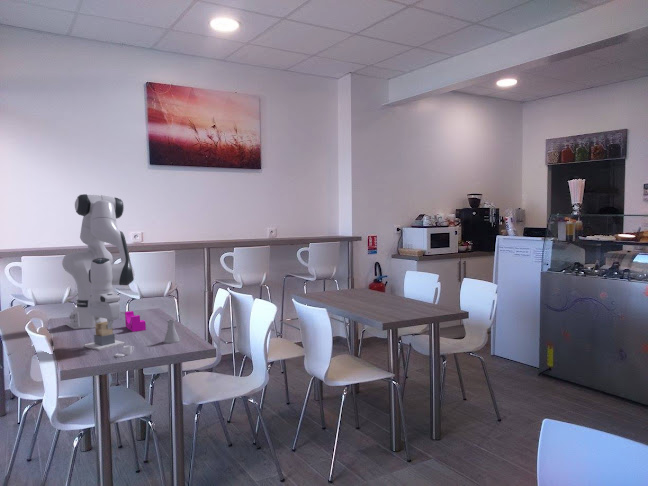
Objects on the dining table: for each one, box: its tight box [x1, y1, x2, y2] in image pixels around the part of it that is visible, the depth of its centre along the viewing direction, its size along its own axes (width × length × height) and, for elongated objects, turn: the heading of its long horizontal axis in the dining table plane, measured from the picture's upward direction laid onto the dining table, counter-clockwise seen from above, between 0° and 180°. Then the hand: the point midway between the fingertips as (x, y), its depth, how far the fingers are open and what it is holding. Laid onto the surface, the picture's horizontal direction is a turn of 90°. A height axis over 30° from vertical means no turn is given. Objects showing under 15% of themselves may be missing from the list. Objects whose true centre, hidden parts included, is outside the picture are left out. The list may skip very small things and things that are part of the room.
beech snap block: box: [94, 321, 114, 336], centre depth 225 cm, size 5×5×5 cm
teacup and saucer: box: [114, 344, 135, 358], centre depth 209 cm, size 9×8×4 cm
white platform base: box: [83, 333, 126, 351], centre depth 225 cm, size 12×12×5 cm
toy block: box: [124, 310, 147, 333], centre depth 258 cm, size 15×6×8 cm, turn 33°
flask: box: [163, 319, 181, 344], centre depth 229 cm, size 7×7×10 cm
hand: (103, 327), depth 225 cm, fingers open, 7 cm apart
